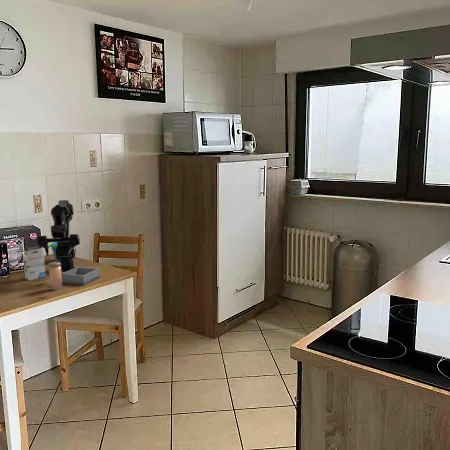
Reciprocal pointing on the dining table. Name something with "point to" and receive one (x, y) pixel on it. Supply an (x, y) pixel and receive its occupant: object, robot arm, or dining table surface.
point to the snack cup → (54, 246)
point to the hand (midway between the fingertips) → (57, 255)
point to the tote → (80, 275)
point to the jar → (55, 275)
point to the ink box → (34, 264)
